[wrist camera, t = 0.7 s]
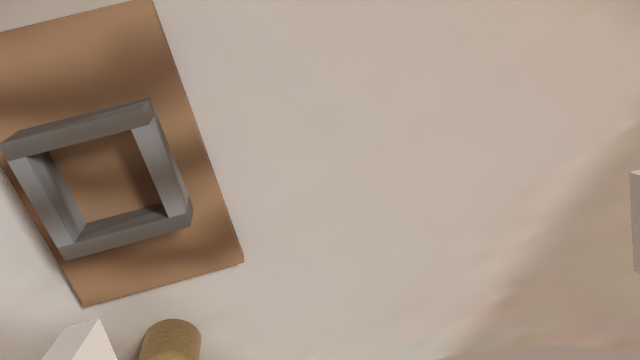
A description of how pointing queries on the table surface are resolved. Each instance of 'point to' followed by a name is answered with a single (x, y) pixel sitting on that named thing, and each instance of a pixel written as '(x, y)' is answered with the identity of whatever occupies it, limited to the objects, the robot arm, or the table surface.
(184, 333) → the brass fitting
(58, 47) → the wooden board with frame
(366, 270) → the table surface
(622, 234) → the table surface
